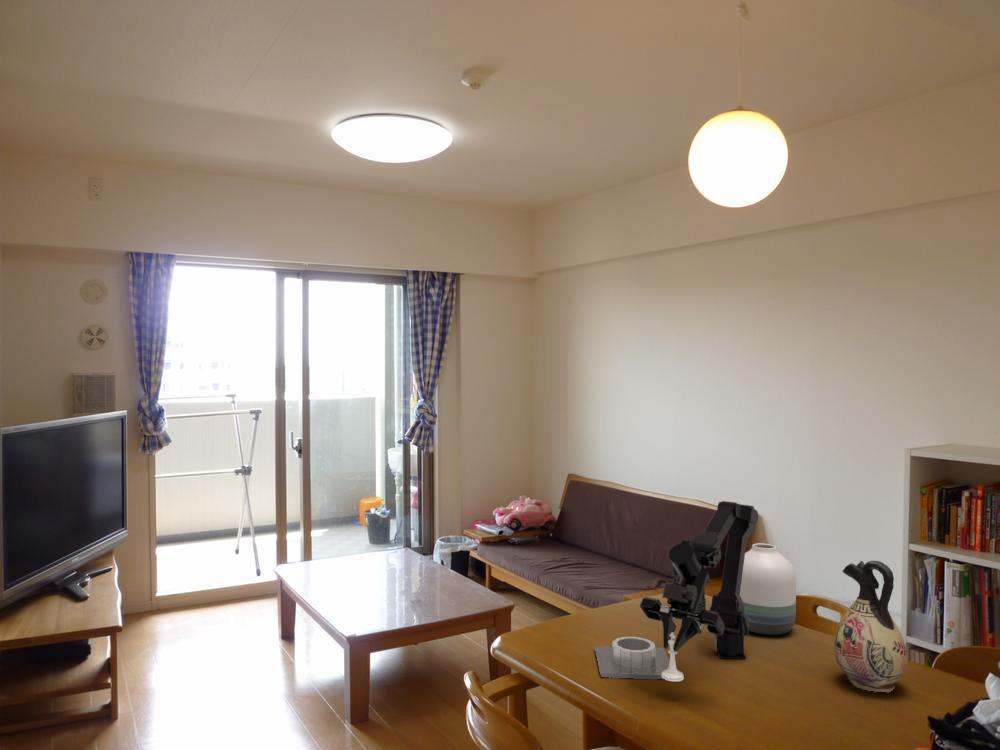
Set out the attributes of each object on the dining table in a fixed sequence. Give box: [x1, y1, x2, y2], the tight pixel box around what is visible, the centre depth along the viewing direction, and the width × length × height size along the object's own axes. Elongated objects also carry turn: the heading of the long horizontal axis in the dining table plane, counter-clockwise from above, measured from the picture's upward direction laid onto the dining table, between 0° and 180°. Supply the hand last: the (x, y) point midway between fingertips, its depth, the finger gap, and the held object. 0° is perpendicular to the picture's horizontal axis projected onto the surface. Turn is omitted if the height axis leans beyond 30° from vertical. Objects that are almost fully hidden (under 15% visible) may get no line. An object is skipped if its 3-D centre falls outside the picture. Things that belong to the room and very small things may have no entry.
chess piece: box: [661, 632, 685, 683], centre depth 160 cm, size 5×5×10 cm
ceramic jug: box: [833, 560, 908, 693], centre depth 166 cm, size 17×15×30 cm
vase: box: [740, 543, 797, 636], centre depth 205 cm, size 17×17×24 cm
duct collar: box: [594, 636, 670, 681], centre depth 179 cm, size 18×18×5 cm
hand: (669, 649), depth 159 cm, fingers closed on chess piece
